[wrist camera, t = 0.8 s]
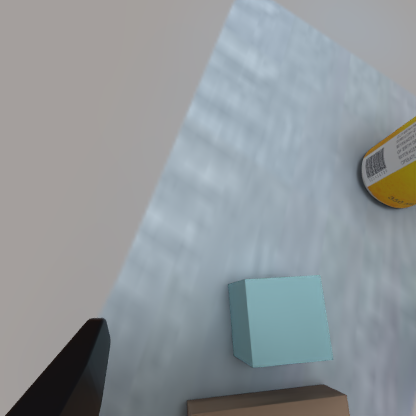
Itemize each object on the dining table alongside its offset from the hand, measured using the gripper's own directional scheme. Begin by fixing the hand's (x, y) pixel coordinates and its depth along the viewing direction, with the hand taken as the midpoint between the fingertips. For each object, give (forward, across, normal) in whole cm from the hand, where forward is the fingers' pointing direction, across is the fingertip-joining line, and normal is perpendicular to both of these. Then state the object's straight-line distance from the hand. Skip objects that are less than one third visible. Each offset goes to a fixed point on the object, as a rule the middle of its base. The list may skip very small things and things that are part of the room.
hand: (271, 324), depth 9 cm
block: (+10, -3, +13) cm, 17 cm away
